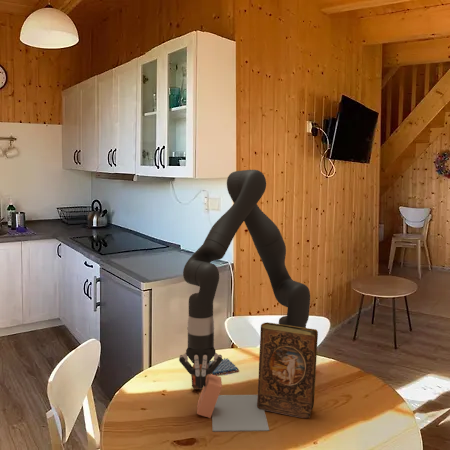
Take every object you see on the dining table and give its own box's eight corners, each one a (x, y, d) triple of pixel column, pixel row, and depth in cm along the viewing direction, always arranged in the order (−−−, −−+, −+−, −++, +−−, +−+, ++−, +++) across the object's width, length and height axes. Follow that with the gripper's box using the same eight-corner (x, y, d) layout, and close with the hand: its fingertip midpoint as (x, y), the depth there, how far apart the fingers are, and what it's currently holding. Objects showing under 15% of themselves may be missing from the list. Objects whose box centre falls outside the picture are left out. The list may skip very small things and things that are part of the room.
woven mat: (227, 362, 178) (227, 356, 178) (239, 373, 169) (240, 368, 169) (201, 366, 174) (201, 361, 174) (212, 378, 165) (212, 373, 164)
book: (255, 408, 144) (258, 327, 140) (259, 400, 149) (263, 321, 145) (310, 419, 138) (315, 336, 135) (313, 410, 144) (318, 329, 140)
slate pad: (260, 395, 152) (260, 394, 152) (269, 430, 132) (269, 429, 132) (211, 396, 152) (211, 395, 152) (212, 431, 132) (212, 430, 132)
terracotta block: (210, 407, 145) (221, 377, 143) (210, 418, 139) (221, 386, 138) (197, 403, 144) (208, 373, 143) (197, 414, 138) (208, 382, 137)
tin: (199, 394, 153) (199, 369, 152) (189, 393, 153) (189, 368, 152) (210, 373, 167) (210, 350, 166) (201, 373, 168) (201, 349, 167)
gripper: (223, 325, 142) (222, 381, 145) (178, 325, 142) (178, 381, 144) (224, 334, 135) (223, 393, 137) (176, 334, 134) (177, 393, 137)
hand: (200, 387), depth 141 cm, fingers closed
